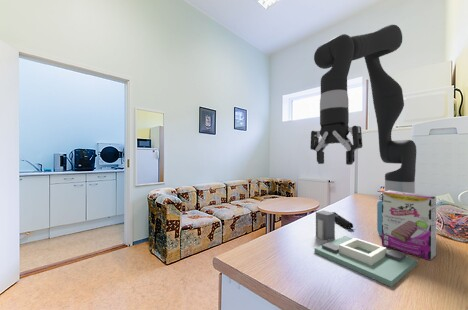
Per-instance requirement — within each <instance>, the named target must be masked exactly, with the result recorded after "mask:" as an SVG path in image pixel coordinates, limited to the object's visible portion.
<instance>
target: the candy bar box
mask: <svg viewBox="0 0 468 310" xmlns="http://www.w3.org/2000/svg"><path fill="white" fill-rule="evenodd" d="M381 201H382V236H381V246H382V247H386V248H390V249H391V250H395V251H398V252H401V253H404V254H409V255H412V256H414V257H418V258H421V259H424V260H428V261H432V260H433V259H434V258H435V257H436V255H437V246H436V245H437V196H435V195H430V194H429V195H427V194H422V193H421V194H419V193H415V194H414V193H406V192H398V191H390V190H388V191H385V190H383V191H381Z"/></svg>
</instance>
